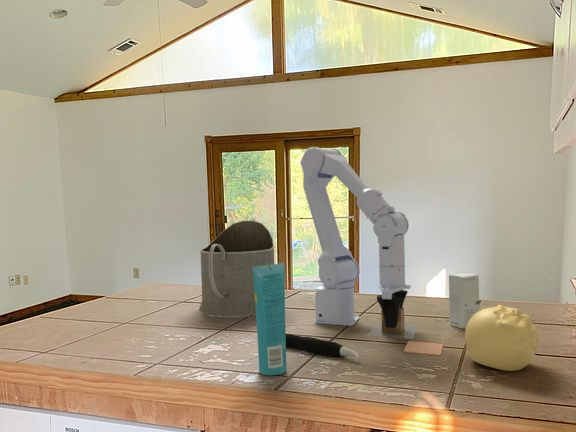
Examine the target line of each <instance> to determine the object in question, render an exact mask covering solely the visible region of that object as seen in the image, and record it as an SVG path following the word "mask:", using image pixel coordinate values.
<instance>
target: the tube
mask: <svg viewBox="0 0 576 432" xmlns="http://www.w3.org/2000/svg"><path fill="white" fill-rule="evenodd" d="M285 270H286V269H285V263H284V262H281V263H280V262H279V263H276V264H275V263H274V265H267V266H257V267H253V279H254V293H255V306H256V316H255V318H256V332H257V334H256V335H257V336H256V337H257V351H258V353H257V354H258V368H259V369H258V371H259V374H260V375H264V376H278V375H282V374H284V373H285V372H286V371H287V347H286V334H287V333H286V292H285V291H286V287H285V285H286V284H285V281H286V280H285V279H286V278H285V276H286V273H285Z"/></svg>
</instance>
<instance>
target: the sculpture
mask: <svg viewBox="0 0 576 432" xmlns="http://www.w3.org/2000/svg"><path fill="white" fill-rule="evenodd" d="M532 319H533V318H532V317H531V316H530V315H528V314H524V313H523V312H522V311H521V310H520V309H519V308H516V307H510V306H507V305H503V304H498V305H497V306H493V307H486V308H482V309H481V310H480V309H479V311H478V312H477V313H475V314H474V315H473V316H472V317H471V319H470V320H469V322H468V324H467V327H466V329H465V332H464V341H465V346H466V347H465V348H466V350H467V352H468V354H469V355H468V356H469V357H470V358H471V359H472V360H473V361H474V362H475V363H477V364H480V365H483V366H486V367H489V368H492V369H497V370H501V371H505V372H506V371H507V372H517V371H520V370H522V369H524V368H525V367H527V366H530V365H531V363H532V361H534V359H535V356H536V354H537V353H538V352H539V350H538V347H537V346H538V344H539V336H538V330H537V326H536V324H534V323H533V320H532Z"/></svg>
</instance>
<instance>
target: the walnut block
mask: <svg viewBox="0 0 576 432" xmlns="http://www.w3.org/2000/svg"><path fill="white" fill-rule="evenodd" d="M380 312H381V313H380V314H381V324H382V333H394V334H402V332H403V331H404V329H405V328H404V326H405V307H399V312H398V320H397V325H396V328H390V327H386V324H385V320H384V316H383V312H382V309H381V311H380Z"/></svg>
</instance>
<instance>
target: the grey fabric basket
mask: <svg viewBox="0 0 576 432" xmlns="http://www.w3.org/2000/svg"><path fill="white" fill-rule="evenodd" d="M274 246H275V245H274V239H273V237H272V234H271V232H270V230H269V228H268V227H266V226H265V225H264V224H263V223H262V222H259V221H257V220H241V221H237V222H234V223H232V224H231V225H229V226H228V227H226V228H225V229H224V230H223V231H222V232H220V233H219V234H218V235H217V236H216V237H215V238H214V239H213V241H211V242H210V243H209V244H208V245H207V246H206V247H204V248H202V249H200V274H201V303H200V305H199V309H198V311H200V312H201V313H200V312H199V313H200V314H202V313H204V314H203V315H205V314H206V315H205V316H208V315H212V316H211V317H215V316H226V317H225V318H239V317H238V316H248V317H251V316H250V315H256V306H255V293H254V279H253V267H257V266H267V265H274V264H275V247H274Z"/></svg>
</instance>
